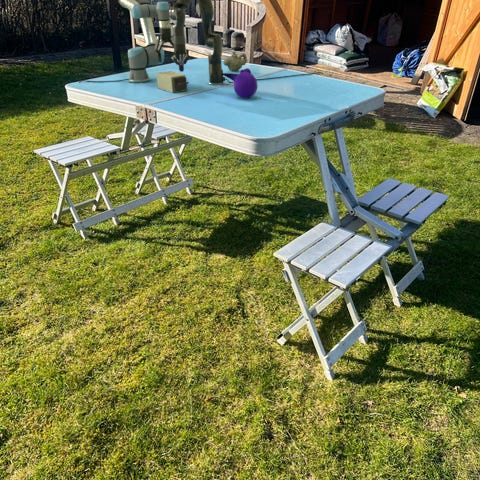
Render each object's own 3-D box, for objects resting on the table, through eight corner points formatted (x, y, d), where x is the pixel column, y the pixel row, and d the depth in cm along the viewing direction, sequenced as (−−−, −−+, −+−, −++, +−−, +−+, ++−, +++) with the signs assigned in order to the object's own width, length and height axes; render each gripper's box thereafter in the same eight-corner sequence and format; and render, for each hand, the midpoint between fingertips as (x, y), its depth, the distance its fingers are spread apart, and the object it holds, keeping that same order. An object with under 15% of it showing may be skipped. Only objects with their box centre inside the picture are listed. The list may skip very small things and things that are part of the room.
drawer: (191, 90, 303) (190, 78, 299) (178, 92, 298) (177, 80, 294) (173, 85, 320) (171, 73, 315) (160, 87, 314) (159, 75, 310)
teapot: (227, 73, 359) (226, 53, 351) (220, 71, 367) (219, 51, 360) (250, 70, 368) (249, 51, 360) (242, 68, 376) (242, 49, 369)
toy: (243, 90, 304) (257, 103, 283) (218, 85, 297) (231, 99, 276) (249, 66, 296) (264, 78, 275) (224, 61, 289) (238, 73, 268)
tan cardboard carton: (186, 90, 309) (185, 75, 304) (172, 92, 303) (171, 77, 298) (171, 85, 323) (170, 71, 317) (158, 88, 317) (156, 73, 312)
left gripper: (152, 29, 292) (156, 64, 303) (183, 26, 307) (185, 59, 318) (146, 28, 297) (150, 62, 308) (176, 26, 312) (179, 58, 323)
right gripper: (173, 44, 281) (175, 73, 290) (191, 42, 288) (193, 70, 297) (167, 43, 286) (170, 71, 295) (185, 41, 293) (187, 69, 302)
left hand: (168, 61), depth 313 cm, fingers open, 13 cm apart
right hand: (181, 71), depth 296 cm, fingers closed
